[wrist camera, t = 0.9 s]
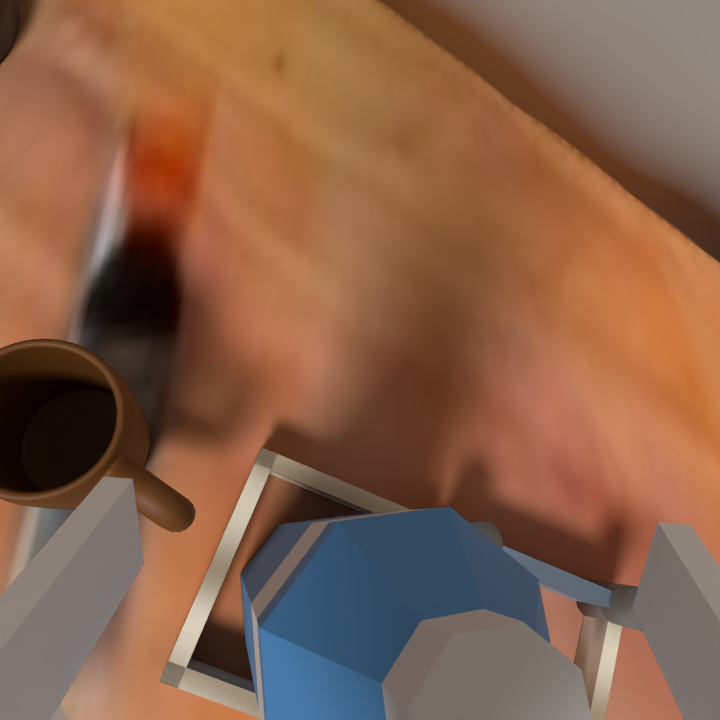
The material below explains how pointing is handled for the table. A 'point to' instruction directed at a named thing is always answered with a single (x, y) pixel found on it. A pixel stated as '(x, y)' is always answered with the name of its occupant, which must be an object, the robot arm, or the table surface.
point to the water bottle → (400, 624)
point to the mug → (74, 432)
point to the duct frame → (594, 598)
